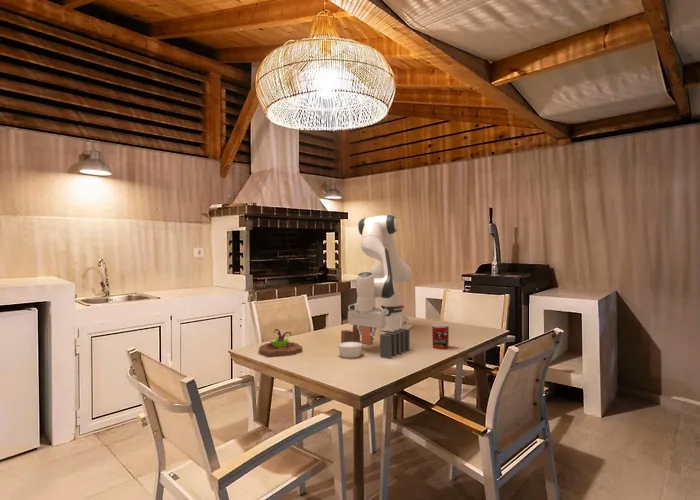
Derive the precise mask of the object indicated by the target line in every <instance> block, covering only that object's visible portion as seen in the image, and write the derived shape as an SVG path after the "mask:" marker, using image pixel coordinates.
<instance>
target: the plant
mask: <svg viewBox="0 0 700 500" xmlns="http://www.w3.org/2000/svg"><path fill="white" fill-rule="evenodd" d="M272 332H273V333H275V334H276V333H277V334H276V335H277V336H278V337H275V338H272V339H269V341H270V342H268V343H265V344H262V345H260V346H259V348H258V354H260V356H265V357H267V358H275V357H276V358H278V357H285V356H287V355H289V356H294V355H295V356H296V355H297V354H301V353H302V352H303V346H302V345H300V344H299V343H297V342H292V341H290V340H289V339H290V337H286V338H285V336H286V334H289V336H293V333H292V332H291V331H286V332H284V333H283V334H282V333H281V331H280V329H279V328H275V329H273V331H272Z"/></svg>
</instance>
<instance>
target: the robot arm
mask: <svg viewBox="0 0 700 500" xmlns="http://www.w3.org/2000/svg"><path fill="white" fill-rule="evenodd" d="M357 228H358V232H359V235H361V241H360V242H361V243H360V245H361V247H360V248H361V250H362V252H363V254H365V255H366V256H368V257H369V258H372V259H375V260H378V261H380V263H377V264H373V265H372V266H371V268H370V269H369V271H370V272H369V271H365V272H364V271H362V272H360V273H358V274H357V278H356V284H355V285H356V286H355V290H356V293H357V294H356V295H357V296H356V297H357V298H356V303H353V304H350V305H349V304H348V308H347V309H348V311H347V323H348V325H350V326H351V325H352V326H353V325H357V328H358V330H359V335H360V336H362V326H367V327H372V332H371V333H370V336H372V337H373V338H374V337H375V335H376V331H377V330H379V331H383V332H384V331H385V332H390V331H394V330H399V329H400V328H401V329H409V330H410V329H411V328H413V327H414V326H413V325H412V324H410V322H409V321H410V320H409V316H407V315H406V314H405V312H404V311H403V309H405V305H402V304H401V292H400V290H399V289H397V288H396V285H395V283H404V282H409V281H410V280H411V278H412V275H413V274H412V273H413V271H412V268H411V266H410V265H409V264H407V263H406V262H405V261H403V260H402V258H401V257H400V256H399V253H398V251H397V246H396V243H395V242H396V241H395V236H394V234H395V233H397V231H398V220H397V217H396V216H394V215H393V214H387V215H375V216H370V217H365V218H364V217H363V218H361V219H360V220H359V222H358V227H357ZM376 298H381V305H380V307H376Z"/></svg>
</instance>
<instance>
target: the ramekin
mask: <svg viewBox="0 0 700 500" xmlns="http://www.w3.org/2000/svg"><path fill="white" fill-rule="evenodd" d="M363 345H364V344H362V342H344V343H341V342H340V343H339V344H337V348H338V350H339V351H338V352H339V356H340V357H341V358H346V359H355V358H360V356H361V355H362V349H363Z"/></svg>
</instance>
